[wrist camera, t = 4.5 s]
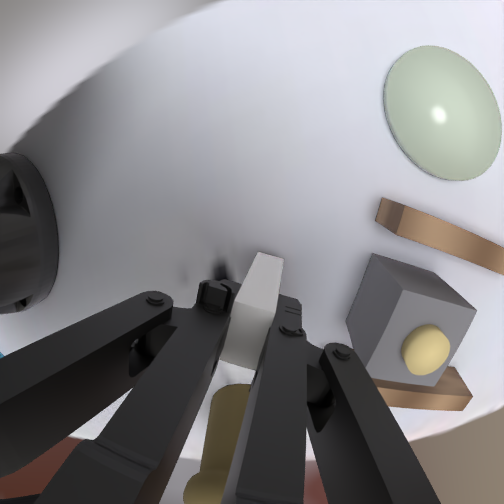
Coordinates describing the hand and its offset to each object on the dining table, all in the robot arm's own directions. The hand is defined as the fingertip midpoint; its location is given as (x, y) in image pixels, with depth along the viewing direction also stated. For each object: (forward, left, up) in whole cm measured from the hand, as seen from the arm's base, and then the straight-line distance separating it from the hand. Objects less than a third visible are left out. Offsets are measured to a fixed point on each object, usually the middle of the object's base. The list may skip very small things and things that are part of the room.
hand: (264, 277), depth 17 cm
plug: (+9, 0, -2) cm, 9 cm away
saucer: (+9, +13, -2) cm, 16 cm away
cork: (+2, -13, -2) cm, 13 cm away
